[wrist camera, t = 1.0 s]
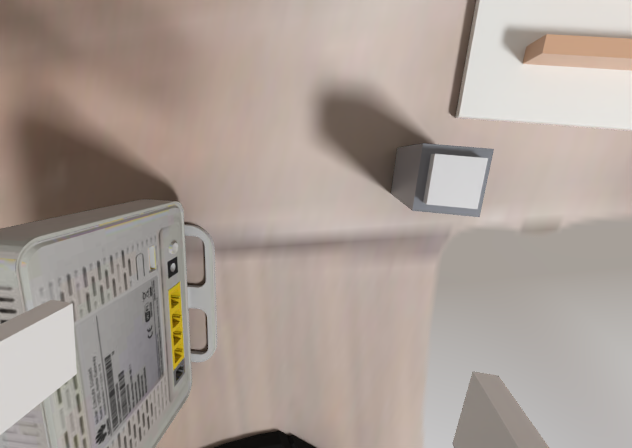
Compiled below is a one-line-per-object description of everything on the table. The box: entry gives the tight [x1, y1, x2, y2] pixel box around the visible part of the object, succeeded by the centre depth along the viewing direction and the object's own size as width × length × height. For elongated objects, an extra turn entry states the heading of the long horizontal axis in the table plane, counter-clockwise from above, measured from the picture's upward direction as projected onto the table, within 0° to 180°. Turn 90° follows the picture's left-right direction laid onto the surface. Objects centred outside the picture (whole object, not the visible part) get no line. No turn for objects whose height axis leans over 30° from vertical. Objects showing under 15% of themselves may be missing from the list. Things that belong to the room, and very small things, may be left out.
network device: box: [0, 199, 217, 448], centre depth 29 cm, size 26×9×20 cm, turn 177°
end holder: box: [455, 0, 632, 131], centre depth 26 cm, size 20×24×4 cm
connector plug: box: [391, 143, 494, 217], centre depth 27 cm, size 5×5×12 cm
